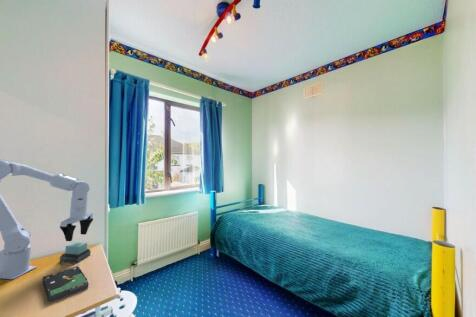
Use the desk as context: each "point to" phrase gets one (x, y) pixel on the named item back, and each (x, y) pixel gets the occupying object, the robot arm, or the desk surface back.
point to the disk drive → (64, 283)
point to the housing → (76, 248)
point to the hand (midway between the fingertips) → (76, 237)
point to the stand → (75, 256)
